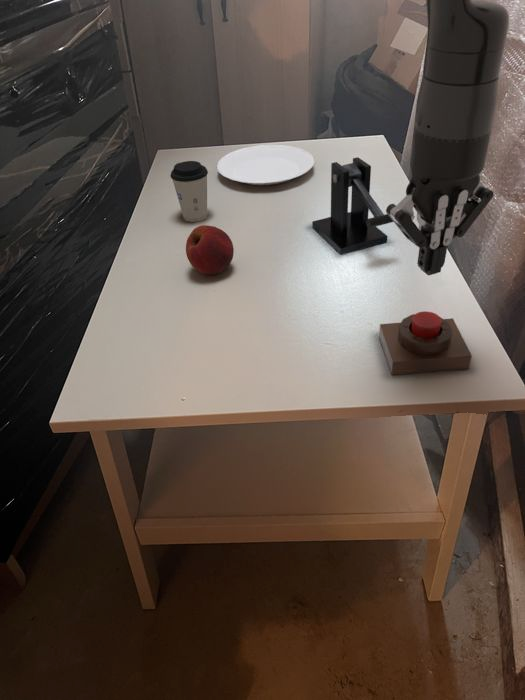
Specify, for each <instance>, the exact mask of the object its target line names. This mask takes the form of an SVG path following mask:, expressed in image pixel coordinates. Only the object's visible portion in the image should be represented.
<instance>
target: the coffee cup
mask: <svg viewBox="0 0 525 700" xmlns="http://www.w3.org/2000/svg"><path fill="white" fill-rule="evenodd" d="M208 174H209V171H208V169H207V167H206V166H205V165H203V164H202V163H201V162H199V161H197V160H187V161H181V162H177V163H176V164H174V165H173V169H172V170H171V172H170V179H172V183H173V185H174V190H175V192H176V193H175V194H176V196H177V199H178V203H179V207H180V210H181V213H182V216H183V217H182V218H183V220H185V221H186V222H189V223H191V222H192V223H196V222H200V221H203V220H205V219H206V218H207V217H208Z"/></svg>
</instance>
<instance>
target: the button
mask: <svg viewBox="0 0 525 700" xmlns="http://www.w3.org/2000/svg"><path fill="white" fill-rule="evenodd" d="M414 314H415V315H414V316H413V318H412V326H411V331H412V333H413V334H414V335H415V336H417V337H421V338H425V339H429V338H435V337H436V336H438V335H439V333H440V328H441V322H442V321H441V318H442V317H441V316H439V314H437V313H435V312H432V311H425V310H424V311H418V312H416V313H414ZM440 317H441V318H440Z"/></svg>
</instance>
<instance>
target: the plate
mask: <svg viewBox="0 0 525 700" xmlns="http://www.w3.org/2000/svg"><path fill="white" fill-rule="evenodd" d="M314 164H315V157H313V155H312V154H311V153H310V152H308V151H307V150H305V149H302V148H301V147H300V148H299V147H297V146H292V145H286V144H257V145H252V146H247V147H243V148H240V149H237V150H234V151H231V152H229V153H227V154H225V155H224V156H223V157H221V158H220V159H219V160H218V162H217V165H216V169H217V171H218V173H219V174H220V175H221V176H223V178H226V179H229V180H231V181H235V182H239V183H242V184H247V185H251V186H273V185H277V184H282V183H285V182H288V181H291V180H292V179H295V178H299V177H300V176H302V175H304V174H306V173H308V172H309V171H310V170H311V169H312V168H313V167H314Z"/></svg>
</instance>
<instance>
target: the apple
mask: <svg viewBox="0 0 525 700" xmlns="http://www.w3.org/2000/svg"><path fill="white" fill-rule="evenodd" d="M234 250H235V247H234V244H233V241H232V239H231V238H230V236H229V235H228V233H226V232H225V231H224V230H222V229H221V228H219V227H216V226H214V225H207V224H202V225H199V226H196V227H195V228H193V229H192V231H191V232H190V234H189V235H188V237H187V240H186V242H185V255H186V257H187V258H186V259H187V260H188V262H189V264H190V266H192V267H193V269H194V270H196V271H197V272H199V273H201V274H203V275H207V276H208V275H209V276H210V275H216V274H220V273H222V272H223V271H224V270H226V269H227V268H228V267H229V266H230V265H231V263H232V261H233V259H234V252H235V251H234Z"/></svg>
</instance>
